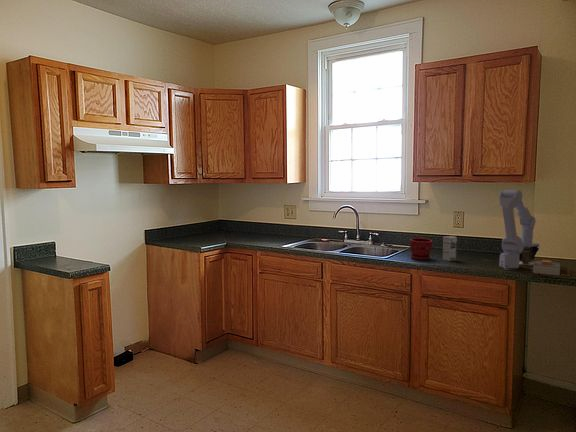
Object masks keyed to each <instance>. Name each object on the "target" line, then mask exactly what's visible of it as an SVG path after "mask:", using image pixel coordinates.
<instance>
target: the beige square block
mask: <svg viewBox="0 0 576 432" xmlns="http://www.w3.org/2000/svg"><path fill="white" fill-rule="evenodd" d="M522 263H523V261H522V260H519V265H523V266H533V265H534V262H530V261H529V264H522Z"/></svg>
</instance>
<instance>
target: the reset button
mask: <svg viewBox="0 0 576 432" xmlns="http://www.w3.org/2000/svg"><path fill="white" fill-rule="evenodd" d="M541 261H542V264H545V265H552V262H553V261H552V260H549V259H548V260H547V259H542V260H541Z"/></svg>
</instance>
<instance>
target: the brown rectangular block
mask: <svg viewBox="0 0 576 432" xmlns="http://www.w3.org/2000/svg"><path fill="white" fill-rule="evenodd" d="M522 262H523V263H522V264H529V262H530V250H523V252H522ZM522 264H521V265H522Z"/></svg>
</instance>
